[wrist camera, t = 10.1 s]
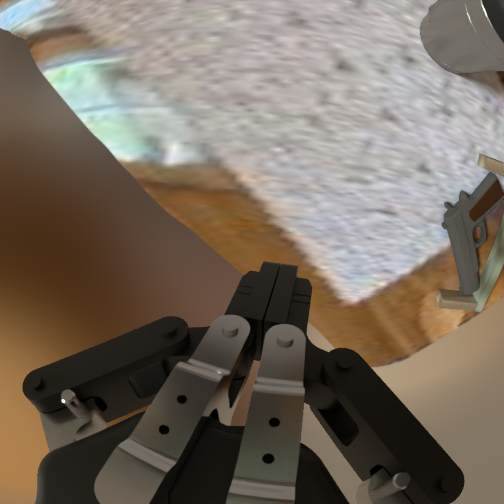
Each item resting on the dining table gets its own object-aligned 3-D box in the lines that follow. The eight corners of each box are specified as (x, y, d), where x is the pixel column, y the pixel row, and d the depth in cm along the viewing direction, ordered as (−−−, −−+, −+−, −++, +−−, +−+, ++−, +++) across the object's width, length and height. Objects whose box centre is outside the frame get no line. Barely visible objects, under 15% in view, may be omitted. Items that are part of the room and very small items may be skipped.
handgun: (509, 262, 33) (457, 290, 39) (492, 166, 28) (431, 198, 33) (515, 271, 31) (462, 300, 37) (501, 172, 25) (437, 205, 31)
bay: (479, 153, 27) (489, 158, 25) (521, 170, 25) (531, 176, 23) (435, 296, 40) (439, 307, 38) (475, 300, 38) (480, 311, 36)
